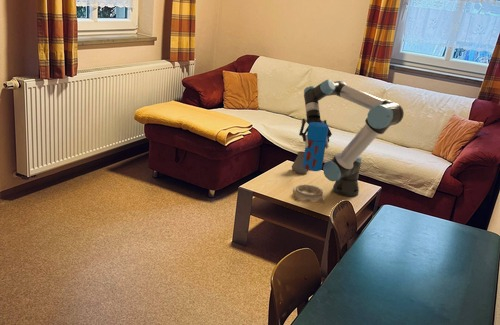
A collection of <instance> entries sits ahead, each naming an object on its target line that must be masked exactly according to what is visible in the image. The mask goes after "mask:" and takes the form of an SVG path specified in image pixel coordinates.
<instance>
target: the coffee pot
mask: <svg viewBox="0 0 500 325" xmlns="http://www.w3.org/2000/svg"><path fill="white" fill-rule="evenodd" d="M304 153H305V151H297V152H296V154H297V156H296V158H295V160H294V161H293V163H292V164H291V169H292V170H293V172H294V173H296V174H299V175H303V174H306V173H308V172H310V171H309V170H306V169H304V168H303V160H304Z"/></svg>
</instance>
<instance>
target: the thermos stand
mask: <svg viewBox="0 0 500 325" xmlns="http://www.w3.org/2000/svg"><path fill="white" fill-rule="evenodd" d="M293 193H294V200H295V201H301V202H312V203H318V204H319V203H322V204H324V203H325V199H324V196H323V194H324V191H323V189H321V188H320V187H319V186H316V185H313V184H299V185H297V186H296V187H294V188H293Z"/></svg>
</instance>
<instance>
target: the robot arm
mask: <svg viewBox="0 0 500 325" xmlns="http://www.w3.org/2000/svg"><path fill="white" fill-rule="evenodd" d="M328 96H330V97H331V96H338V97H340V98H342V99H344V100H347V101H349V102H351V103H353V104H356V105H358V106H361V107H362V108H364V109H367V110H369V111H368V113H367V115H366V116H367V117H366V118H365V122H364V123H365V124H364V125H363V127H362V128H361V129H360V130H359V131H358V133H357V134H355V136H354V137H353V138H352V139H351V140H350V141H349V143H348V144H347V145H346V146H345V147H344V148H343V150H342V151H341V152H337V153H336V154H335V155H334V156H333V157H332V159H331V160H327V161H326V162H325V163H324V165H323V166H322V169H323V170H322V171H323V175H324V177H325V178H326V179H327V180H328V181H330V182H334V183H333V185H332V191H333V193H335V194H338V195H341V196H343V197H344V196H345V197H356V196H358V195H359V192H360V188H359V187H360V186H359V181H358V180H359V175H360V170H361V164H362V158H361V155H362V154H363V153H364V151H366V149H367V148H368V146H370V145H371V144H372V142H373V141H374V140H375V139H376V138H377V137H378V136H379V135H384V134H385V132H386V131H387V130H388V129H389V128H390V127H391V126H395V125H397V124H400V122H402V120H403V118H404V113H405V112H404V108H403V107H402V106H401V105H400V104H399V103H397V102H394V101H392V100H389V99H382V98H379V97H376V96H374V95H373V94H369V93H367V92H365V91H363V90H360V89H357V88H355V87H353V86H351V85H347V83H346V82H345V81H342V80H336V81H333V80H331V79H326V80H324V81H322V82H320V83H319V84H318V85H316V86H307V87H305V88H304V90H303V98H304V105H305V115H306V119H305V118H302V119H301V126H300V130H299V137H300V136H301V137H302V141H303V142H304V145H305V146H304V148H305V147H306V148H307V147H308V138H307V132H308V126H307V127H306V129H305V125H306V123H307V125H309V123H310V122H320V123H324V124H327V125H328V123H327V120H326V119H323V120H322V119H321V113H320V112H321V111H320V104H319V103H320V102H319V101H321V100H322V99H324V98H325V97H328ZM304 129H305V130H304ZM332 136H333V134H332V131H331V130H330V127H329V126H328V133H327V140H326V146H325V150H327V149H328V148H329V147H330V146H329V143H330V137H332Z"/></svg>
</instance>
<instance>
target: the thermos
mask: <svg viewBox="0 0 500 325" xmlns="http://www.w3.org/2000/svg"><path fill="white" fill-rule="evenodd" d="M307 127H308V131H307V133H306V135H307V138H308V147H307V148H306V147H305V146H304V152H305V153H304V160H303V168H304V169H306V170H309V171H308V172H320V171H322V169H323V166H324V165H323V163H324V157H325V151H326V147H325V146H326V140H327V133H328V127H329V125H328V123H327V124H324V123H320V122H310V123H309V124H308V125H307Z"/></svg>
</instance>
